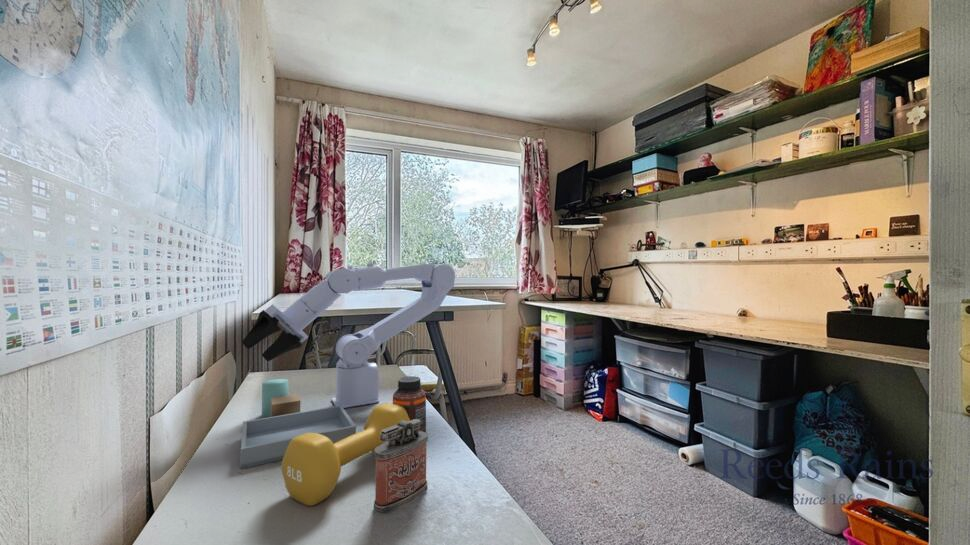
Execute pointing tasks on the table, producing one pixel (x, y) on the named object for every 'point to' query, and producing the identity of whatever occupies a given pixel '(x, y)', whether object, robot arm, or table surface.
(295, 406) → the cube
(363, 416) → the table surface
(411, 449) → the lighter
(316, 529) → the table surface
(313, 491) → the dumbbell
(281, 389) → the teal cylinder
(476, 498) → the table surface
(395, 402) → the supplement bottle
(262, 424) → the tote
